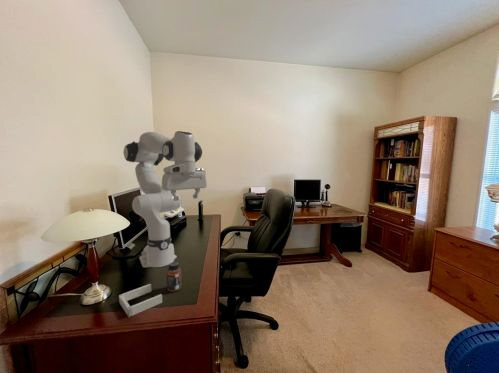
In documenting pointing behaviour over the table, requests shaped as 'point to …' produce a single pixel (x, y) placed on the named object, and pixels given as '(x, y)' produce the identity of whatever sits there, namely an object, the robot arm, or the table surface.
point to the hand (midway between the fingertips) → (186, 199)
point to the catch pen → (140, 306)
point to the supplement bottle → (174, 277)
